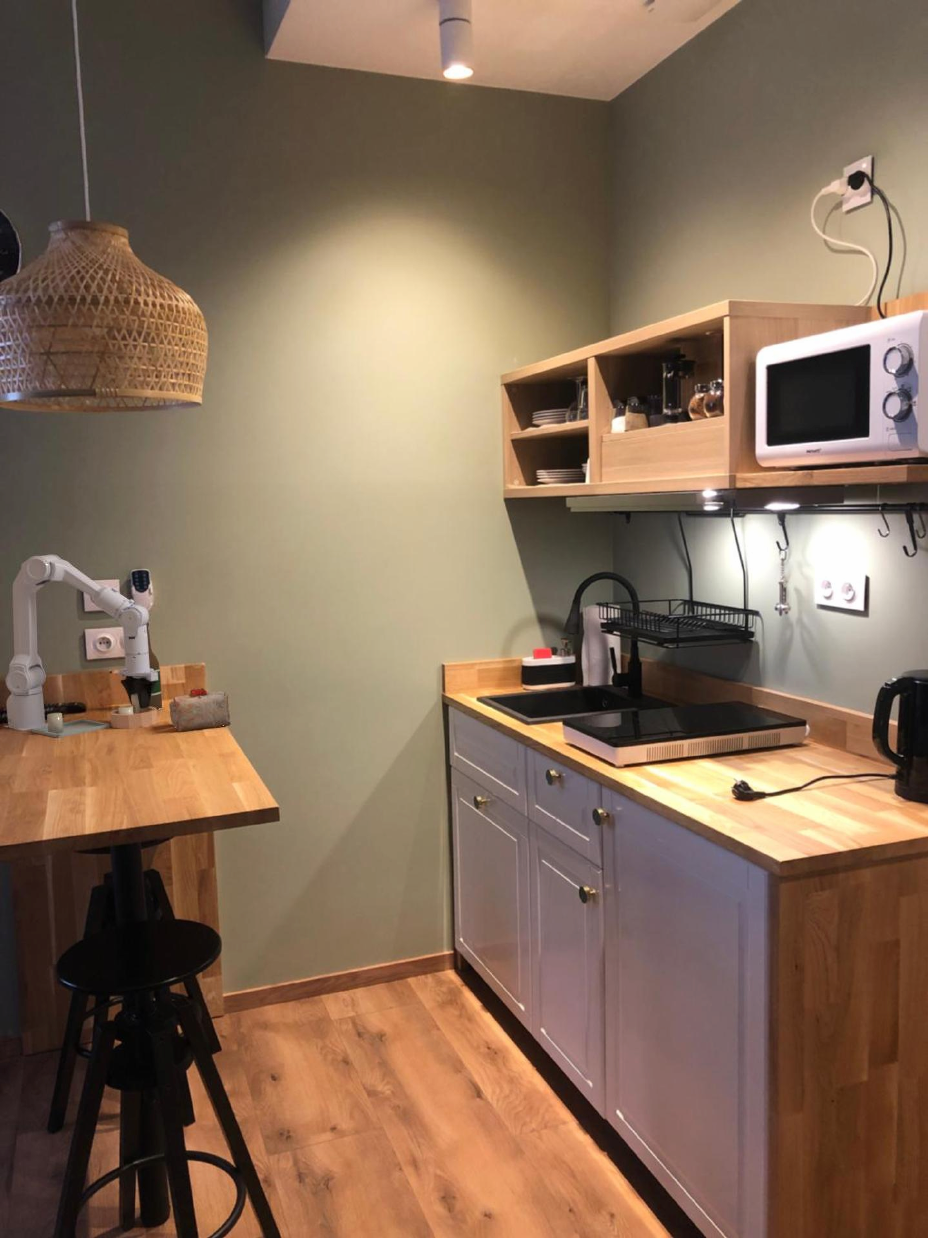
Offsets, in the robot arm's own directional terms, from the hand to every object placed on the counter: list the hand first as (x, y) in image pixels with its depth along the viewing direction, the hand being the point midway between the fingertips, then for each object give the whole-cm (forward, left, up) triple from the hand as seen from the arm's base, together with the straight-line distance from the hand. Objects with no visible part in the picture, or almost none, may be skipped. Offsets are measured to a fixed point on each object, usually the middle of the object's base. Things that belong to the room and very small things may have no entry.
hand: (140, 707), depth 261 cm
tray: (-8, -14, -4) cm, 17 cm away
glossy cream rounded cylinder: (0, 0, -1) cm, 1 cm away
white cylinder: (-8, -18, -4) cm, 21 cm away
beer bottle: (-16, +12, -5) cm, 21 cm away
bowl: (0, -2, -4) cm, 5 cm away
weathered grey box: (+17, +6, -5) cm, 18 cm away
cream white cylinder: (0, -4, -4) cm, 6 cm away
